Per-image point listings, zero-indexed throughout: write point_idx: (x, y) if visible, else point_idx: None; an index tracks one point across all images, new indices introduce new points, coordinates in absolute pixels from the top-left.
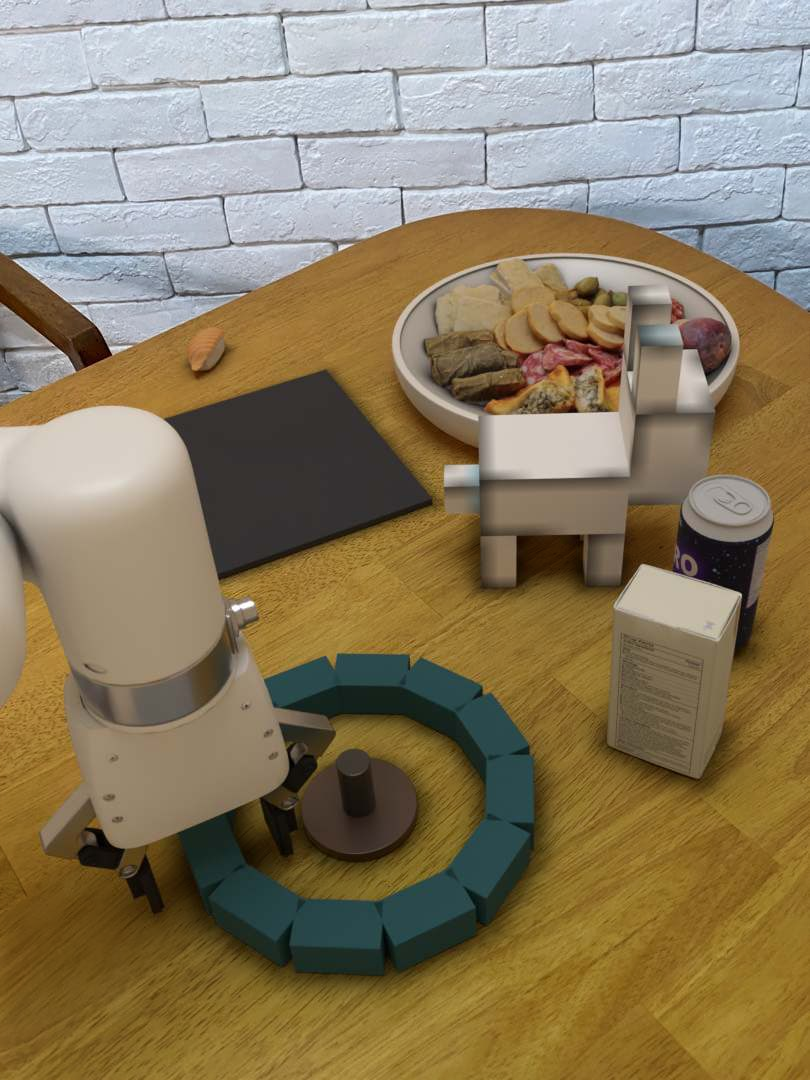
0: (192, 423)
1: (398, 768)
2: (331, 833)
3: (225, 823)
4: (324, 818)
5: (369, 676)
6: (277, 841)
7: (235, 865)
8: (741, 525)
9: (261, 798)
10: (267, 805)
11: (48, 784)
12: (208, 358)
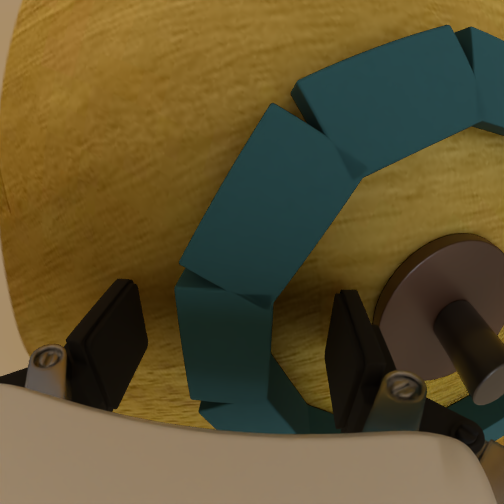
0: None
1: None
2: (400, 344)
3: (265, 335)
4: (408, 322)
5: None
6: (329, 372)
7: (250, 397)
8: None
9: (347, 366)
10: (344, 413)
11: (47, 38)
12: None
